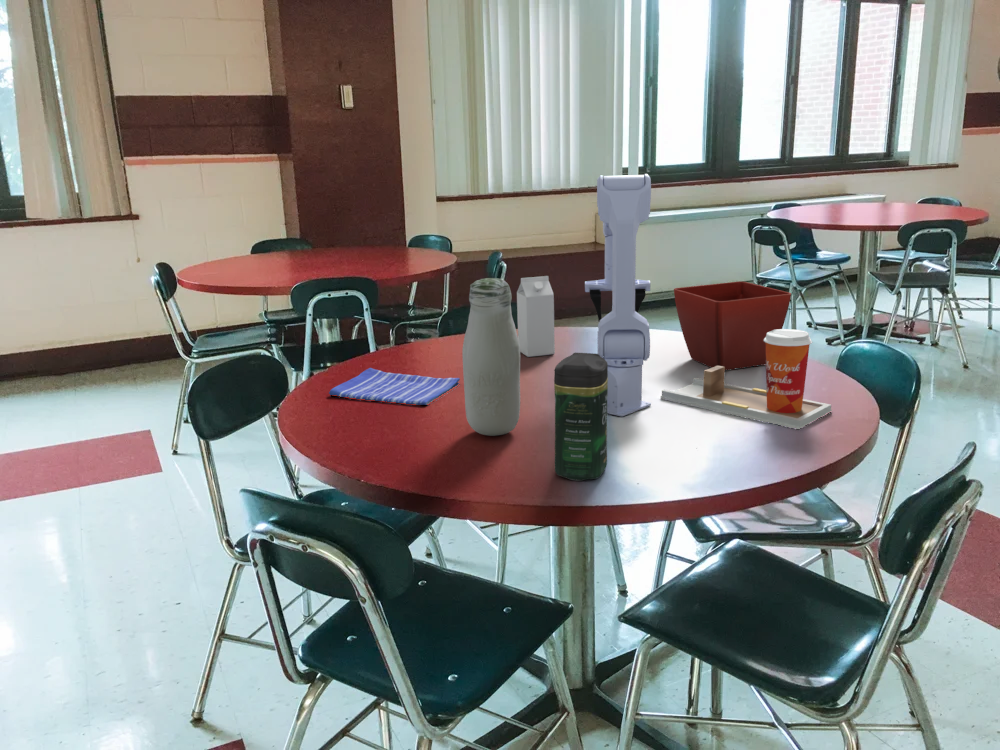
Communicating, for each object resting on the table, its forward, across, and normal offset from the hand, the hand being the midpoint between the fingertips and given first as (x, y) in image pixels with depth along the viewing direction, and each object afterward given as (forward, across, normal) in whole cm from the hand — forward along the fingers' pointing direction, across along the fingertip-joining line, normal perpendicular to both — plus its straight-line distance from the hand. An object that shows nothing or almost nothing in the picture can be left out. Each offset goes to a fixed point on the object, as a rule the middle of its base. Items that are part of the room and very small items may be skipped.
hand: (616, 320), depth 185 cm
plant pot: (+11, -26, 0) cm, 28 cm away
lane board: (+5, -23, +32) cm, 40 cm away
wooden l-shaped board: (+5, -25, +34) cm, 42 cm away
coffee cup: (+4, -30, +37) cm, 48 cm away
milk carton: (+13, +19, -10) cm, 25 cm away
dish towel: (+8, +48, +22) cm, 53 cm away
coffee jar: (0, +8, +65) cm, 66 cm away
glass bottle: (+3, +24, +48) cm, 54 cm away
